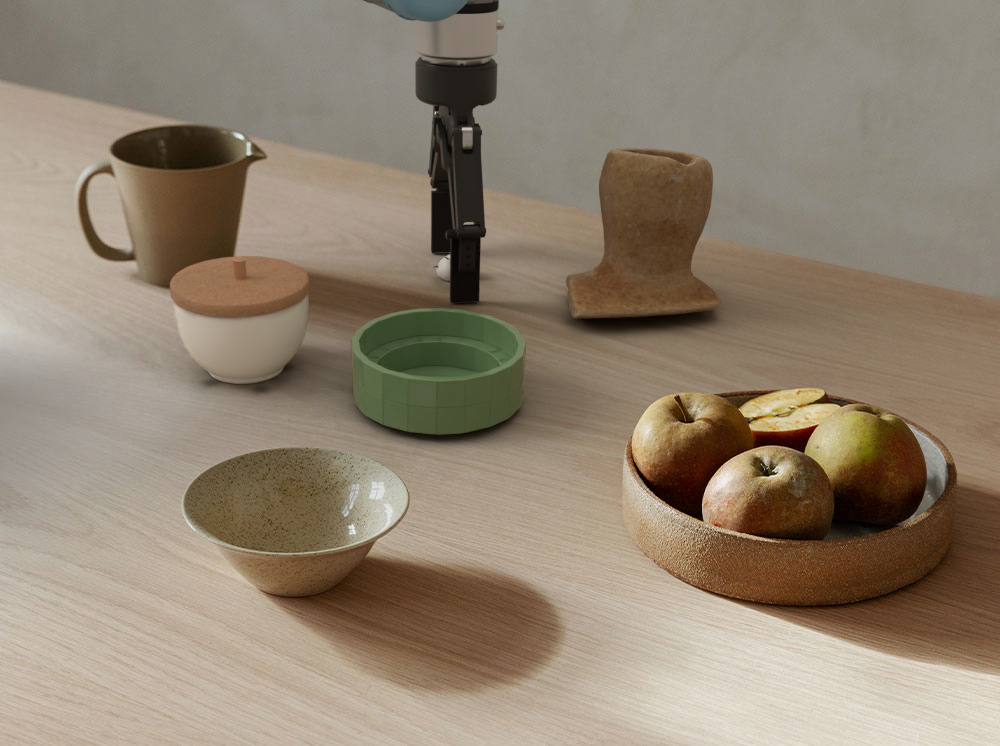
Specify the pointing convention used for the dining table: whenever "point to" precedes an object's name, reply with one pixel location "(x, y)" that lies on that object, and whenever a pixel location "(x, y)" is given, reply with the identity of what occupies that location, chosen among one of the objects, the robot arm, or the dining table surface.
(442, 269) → the white garlic bulb
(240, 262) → the lidded sugar bowl
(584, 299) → the stone cup
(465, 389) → the green bowl
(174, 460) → the dining table surface
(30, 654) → the dining table surface
